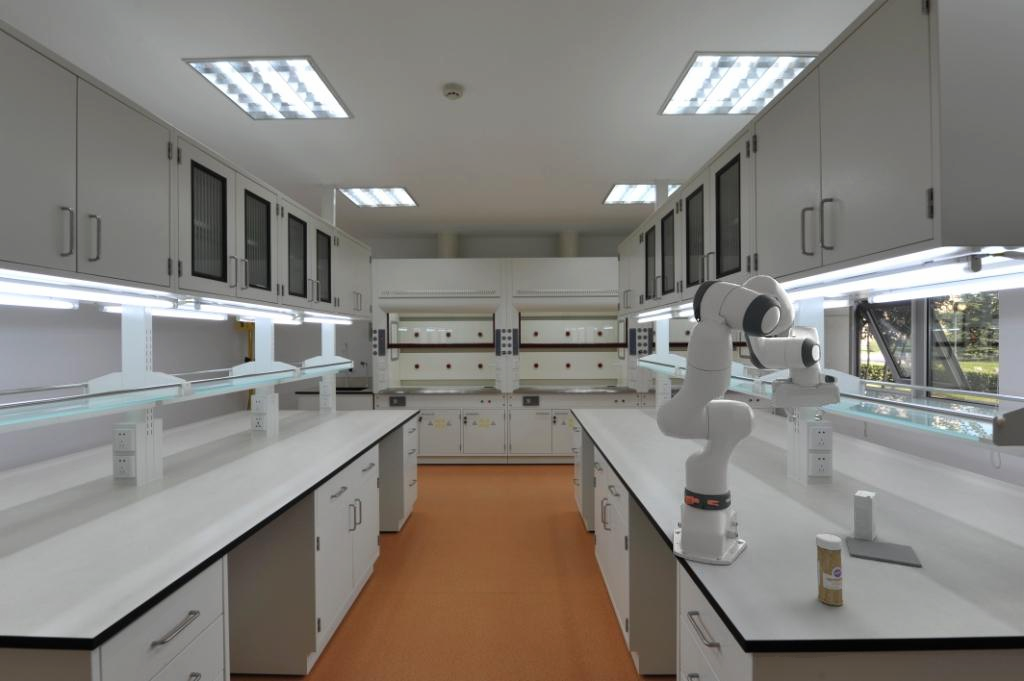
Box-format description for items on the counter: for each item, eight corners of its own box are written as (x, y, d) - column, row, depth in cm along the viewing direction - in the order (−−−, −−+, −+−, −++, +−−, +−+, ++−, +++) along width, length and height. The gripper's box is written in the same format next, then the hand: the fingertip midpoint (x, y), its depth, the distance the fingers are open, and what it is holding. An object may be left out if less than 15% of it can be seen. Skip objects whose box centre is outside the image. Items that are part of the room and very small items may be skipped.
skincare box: (858, 532, 137) (857, 489, 138) (878, 536, 134) (876, 492, 134) (853, 538, 133) (852, 494, 133) (873, 543, 130) (872, 497, 130)
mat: (921, 567, 116) (921, 564, 116) (850, 556, 123) (850, 553, 123) (910, 548, 126) (910, 546, 126) (845, 538, 133) (845, 536, 133)
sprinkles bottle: (834, 608, 99) (832, 542, 99) (812, 598, 103) (810, 535, 103) (848, 603, 101) (846, 538, 101) (826, 593, 105) (824, 531, 105)
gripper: (777, 379, 150) (778, 423, 150) (843, 377, 150) (844, 422, 150) (766, 377, 156) (767, 420, 156) (829, 376, 156) (830, 418, 156)
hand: (805, 421), depth 153 cm, fingers open, 7 cm apart
